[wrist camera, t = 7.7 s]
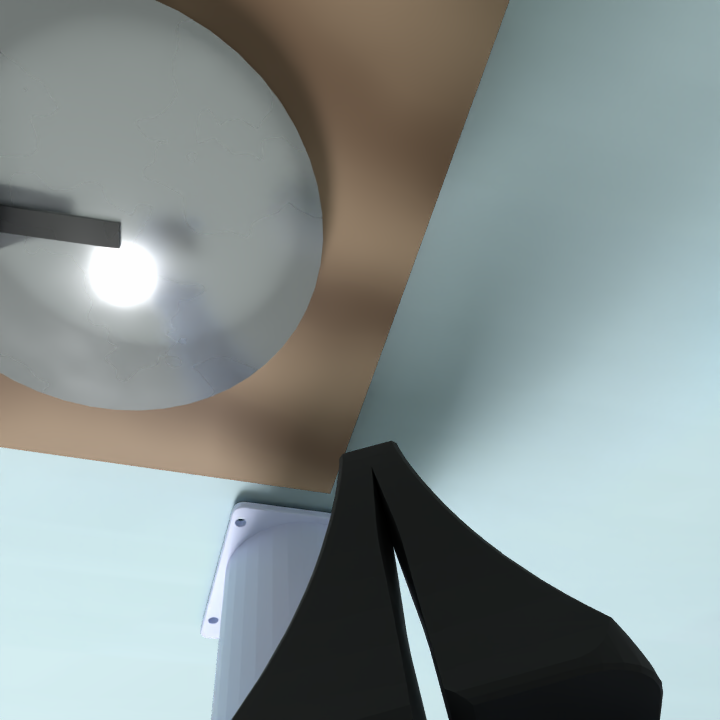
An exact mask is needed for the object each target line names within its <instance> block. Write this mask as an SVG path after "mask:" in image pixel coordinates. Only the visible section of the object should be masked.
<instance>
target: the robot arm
mask: <svg viewBox="0 0 720 720" xmlns="http://www.w3.org/2000/svg"><path fill="white" fill-rule="evenodd" d="M238 519H244V520H243V521H239V520H238ZM393 547H394V548H393ZM394 550H395V552H396V555H397V558H398V561H399V563H400V566H401V569H402V572H403V574H404V577H405V580H406V583H407V585H408V588H409V591H410V594H411V596H412V599H413V602H414V605H415V607H416V610H417V613H418V616H419V618H420V621H421V624H422V627H423V629H424V632H425V635H426V639H427V642H428V645H429V648H430V651H431V655H432V659H433V663H434V666H435V670H436V674H437V677H438V681H439V685H440V688H441V692H442V696H443V699H444V703H445V707H446V711H447V714H448V718H449V720H660V714H661V706H662V697H663V689H662V682H661V680H660V679H659V677H658V676H657V674H656V672H655V670H654V668H653V667H652V665H651V664H650V662H649V661H648V660H647V658H646V657H645V656H644V655H643V653H642V652H641V651H640V650H639V648H638V647H637V646H636V645H635V643H634V642H633V641H632V640H631V639H630V637H629V636H628V635H627V634H626V633H625V632H624V631H623V630H622V628H621V627H620V626H619V625H618V624H617V623H616V622H615V621H614V620H613V619H612V618H611V617H609V616H607V615H605V614H603V613H601V612H599V611H597V610H595V609H593V608H591V607H589V606H587V605H585V604H583V603H582V602H580V601H578V600H576V599H574V598H572V597H570V596H569V595H567V594H565V593H563V592H562V591H560V590H558V589H556V588H555V587H553V586H551V585H550V584H548V583H546V582H545V581H543V580H541V579H540V578H538V577H537V576H535V575H534V574H532V573H531V572H529V571H528V570H526V569H525V568H523V567H522V566H520V565H519V564H517V563H515V562H514V561H512V560H511V559H509V558H508V557H507V556H505V555H504V554H502V553H501V552H500V551H498V550H497V549H496V548H494V547H493V546H492V545H491V544H489V543H488V542H487V541H485V540H484V539H483V538H482V537H480V536H479V535H478V534H477V533H476V532H474V531H473V530H472V529H471V528H470V527H469V526H467V525H466V524H465V523H464V522H463V521H462V520H461V519H460V518H458V517H457V516H456V515H455V514H454V513H453V512H452V511H451V510H450V509H449V508H448V507H447V506H446V505H445V504H444V503H443V502H442V501H441V500H440V499H439V498H438V497H437V496H436V495H435V494H434V492H433V491H432V490H431V489H430V488H429V487H428V486H427V485H426V484H425V482H424V481H423V480H422V479H421V478H420V477H419V475H418V474H417V473H416V472H415V470H414V469H413V468H412V467H411V465H410V464H409V463H408V461H407V460H406V458H405V457H404V455H403V454H402V452H401V451H400V449H399V447H398V445H397V443H395V442H393V441H389V442H385V443H381V444H378V445H374V446H370V447H366V448H363V449H359V450H355V451H351V452H348V453H344V454H342V455H341V457H340V458H339V474H338V481H337V488H336V493H335V499H334V503H333V507H332V512H331V513H326V512H318V511H311V510H303V509H296V508H288V507H280V506H273V505H265V504H258V503H250V502H240V503H237V504H236V505H234V507H233V509H232V513H231V516H230V520H229V524H228V528H227V531H226V535H225V539H224V542H223V546H222V550H221V554H220V557H219V561H218V565H217V569H216V572H215V576H214V580H213V584H212V587H211V591H210V595H209V599H208V602H207V606H206V610H205V613H204V617H203V621H202V625H201V631H200V633H201V635H202V636H203V637H205V638H213V639H219V642H218V653H217V663H216V674H215V684H214V695H213V705H212V716H211V720H427V719H426V715H425V711H424V707H423V703H422V699H421V694H420V690H419V686H418V682H417V678H416V674H415V670H414V666H413V662H412V657H411V653H410V648H409V643H408V638H407V632H406V626H405V619H404V613H403V606H402V600H401V593H400V587H399V580H398V574H397V567H396V561H395V554H394Z"/></svg>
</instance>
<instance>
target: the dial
mask: <svg viewBox="0 0 720 720" xmlns="http://www.w3.org/2000/svg"><path fill="white" fill-rule="evenodd" d="M322 245H323V223H322V209H321V203H320V197H319V191H318V185H317V182H316V179H315V175H314V172H313V169H312V165H311V162H310V159H309V156H308V154H307V152H306V149H305V147H304V145H303V143H302V140H301V138H300V136H299V133H298V131H297V129H296V127H295V125H294V123H293V122H292V120H291V118H290V117H289V115H288V113H287V111H286V110H285V108H284V106H283V105H282V103H281V101H280V100H279V99H278V97H277V96H276V95H275V94H274V92H273V91H272V90H271V88H270V87H269V86H268V84H267V83H266V82H265V80H264V79H263V78H262V77H261V76H260V75H259V74H258V73H257V71H256V70H255V69H254V68H253V67H252V66H251V65H250V64H249V63H248V62H247V61H246V60H245V59H244V58H243V57H242V56H241V55H240V54H239V53H238V52H236V51H235V50H234V49H233V48H231V47H230V46H229V45H228V44H226V43H225V42H224V41H223V40H222V39H220V38H219V37H218V36H217V35H215V34H214V33H213V32H211V31H210V30H208V29H207V28H205V27H203V26H202V25H200V24H199V23H197V22H195V21H194V20H192V19H191V18H189V17H187V16H186V15H184V14H182V13H181V12H179V11H177V10H175V9H173V8H171V7H169V6H166V5H164V4H162V3H160V2H158V1H156V0H0V373H2V374H3V375H5V376H7V377H9V378H10V379H12V380H14V381H16V382H18V383H20V384H23V385H25V386H27V387H29V388H32V389H34V390H36V391H38V392H41V393H44V394H47V395H50V396H53V397H56V398H59V399H62V400H64V401H69V402H73V403H77V404H82V405H86V406H90V407H98V408H106V409H113V410H153V409H165V408H170V407H175V406H181V405H186V404H190V403H193V402H196V401H200V400H203V399H206V398H209V397H212V396H214V395H216V394H218V393H221V392H223V391H225V390H227V389H230V388H231V387H233V386H235V385H236V384H238V383H240V382H242V381H243V380H245V379H247V378H248V377H250V376H251V375H252V374H254V373H255V372H256V371H257V370H259V369H260V368H261V367H262V366H264V365H265V364H266V363H267V362H268V361H269V360H270V359H271V358H272V357H273V356H274V355H275V354H276V353H277V352H278V351H279V350H280V349H281V348H282V347H283V346H284V344H285V343H286V342H287V340H288V339H289V338H290V336H291V335H292V334H293V332H294V331H295V330H296V328H297V326H298V324H299V322H300V321H301V319H302V317H303V315H304V313H305V312H306V310H307V307H308V305H309V302H310V299H311V297H312V294H313V292H314V289H315V286H316V282H317V277H318V273H319V269H320V265H321V255H322Z"/></svg>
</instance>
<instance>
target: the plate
mask: <svg viewBox="0 0 720 720" xmlns="http://www.w3.org/2000/svg"><path fill="white" fill-rule="evenodd" d="M156 1H158V2H160V3H162V4H164V5H166V6H169V7H171V8H173V9H175V10H177V11H179V12H181V13H182V14H184V15H186V16H187V17H189V18H191V19H192V20H194V21H195V22H197V23H199V24H200V25H202V26H203V27H205V28H207V29H208V30H210V31H211V32H213V33H214V34H215V35H217V36H218V37H219V38H220V39H222V40H223V41H224V42H225V43H226V44H228V45H229V46H230V47H231V48H233V49H234V50H235V51H236V52H238V53H239V54H240V55H241V56H242V57H243V58H244V59H245V60H246V61H247V62H248V63H249V64H250V65H251V66H252V67H253V68H254V69H255V70H256V71H257V73H258V74H259V75H260V76H261V77H262V78H263V79H264V80H265V82H266V83H267V84H268V86H269V87H270V88H271V90H272V91H273V92H274V94H275V95H276V96H277V97H278V99H279V100H280V101H281V103H282V105H283V106H284V108H285V110H286V111H287V113H288V115H289V117H290V118H291V120H292V122H293V123H294V125H295V127H296V129H297V131H298V133H299V136H300V138H301V140H302V143H303V145H304V147H305V149H306V152H307V154H308V156H309V159H310V162H311V165H312V169H313V172H314V175H315V179H316V182H317V185H318V191H319V197H320V203H321V209H322V223H323V245H322V255H321V265H320V269H319V273H318V277H317V282H316V286H315V289H314V292H313V294H312V297H311V299H310V302H309V305H308V307H307V310H306V312H305V313H304V315H303V317H302V319H301V321H300V322H299V324H298V326H297V328H296V330H295V331H294V332H293V334H292V335H291V336H290V338H289V339H288V340H287V342H286V343H285V344H284V346H283V347H282V348H281V349H280V350H279V351H278V352H277V353H276V354H275V355H274V356H273V357H272V358H271V359H270V360H269V361H268V362H267V363H266V364H265V365H264V366H262V367H261V368H260V369H259V370H257V371H256V372H255V373H254V374H252V375H251V376H250V377H248V378H247V379H245V380H243V381H242V382H240V383H238V384H236V385H235V386H233V387H231V388H230V389H227V390H225V391H223V392H221V393H218V394H216V395H214V396H212V397H209V398H206V399H203V400H200V401H196V402H193V403H190V404H186V405H181V406H175V407H170V408H165V409H153V410H113V409H106V408H98V407H90V406H86V405H82V404H77V403H73V402H69V401H64V400H62V399H59V398H56V397H53V396H50V395H47V394H44V393H41V392H38V391H36V390H34V389H32V388H29V387H27V386H25V385H23V384H20V383H18V382H16V381H14V380H12V379H10V378H9V377H7V376H5V375H3V374H2V373H0V447H4V448H11V449H18V450H25V451H32V452H39V453H46V454H53V455H60V456H67V457H74V458H82V459H89V460H96V461H103V462H110V463H117V464H124V465H131V466H138V467H145V468H152V469H159V470H166V471H173V472H181V473H188V474H195V475H202V476H209V477H216V478H223V479H230V480H237V481H244V482H251V483H258V484H265V485H272V486H279V487H287V488H294V489H301V490H308V491H315V492H322V493H329V494H330V493H331V490H332V487H333V485H334V482H335V479H336V476H337V474H338V471H339V458H340V457H341V455H342V454H344V453H345V451H346V449H347V446H348V443H349V440H350V438H351V435H352V432H353V429H354V427H355V424H356V421H357V418H358V416H359V413H360V410H361V407H362V405H363V402H364V399H365V396H366V394H367V391H368V388H369V385H370V383H371V380H372V377H373V374H374V372H375V369H376V366H377V363H378V361H379V358H380V355H381V352H382V350H383V347H384V344H385V341H386V339H387V336H388V333H389V330H390V328H391V325H392V322H393V319H394V317H395V314H396V311H397V308H398V306H399V303H400V300H401V297H402V295H403V292H404V289H405V286H406V284H407V281H408V278H409V275H410V273H411V270H412V267H413V264H414V262H415V259H416V256H417V253H418V251H419V248H420V245H421V242H422V240H423V237H424V234H425V231H426V229H427V226H428V223H429V220H430V218H431V215H432V212H433V209H434V207H435V204H436V201H437V198H438V196H439V193H440V190H441V187H442V185H443V182H444V179H445V176H446V174H447V171H448V168H449V165H450V163H451V160H452V157H453V154H454V152H455V149H456V146H457V143H458V141H459V138H460V135H461V132H462V130H463V127H464V124H465V121H466V119H467V116H468V113H469V110H470V108H471V105H472V102H473V99H474V97H475V94H476V91H477V88H478V85H479V83H480V80H481V77H482V74H483V72H484V69H485V66H486V63H487V61H488V58H489V55H490V52H491V50H492V47H493V44H494V41H495V39H496V36H497V33H498V30H499V28H500V25H501V22H502V19H503V17H504V14H505V11H506V8H507V6H508V3H509V0H156Z"/></svg>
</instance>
